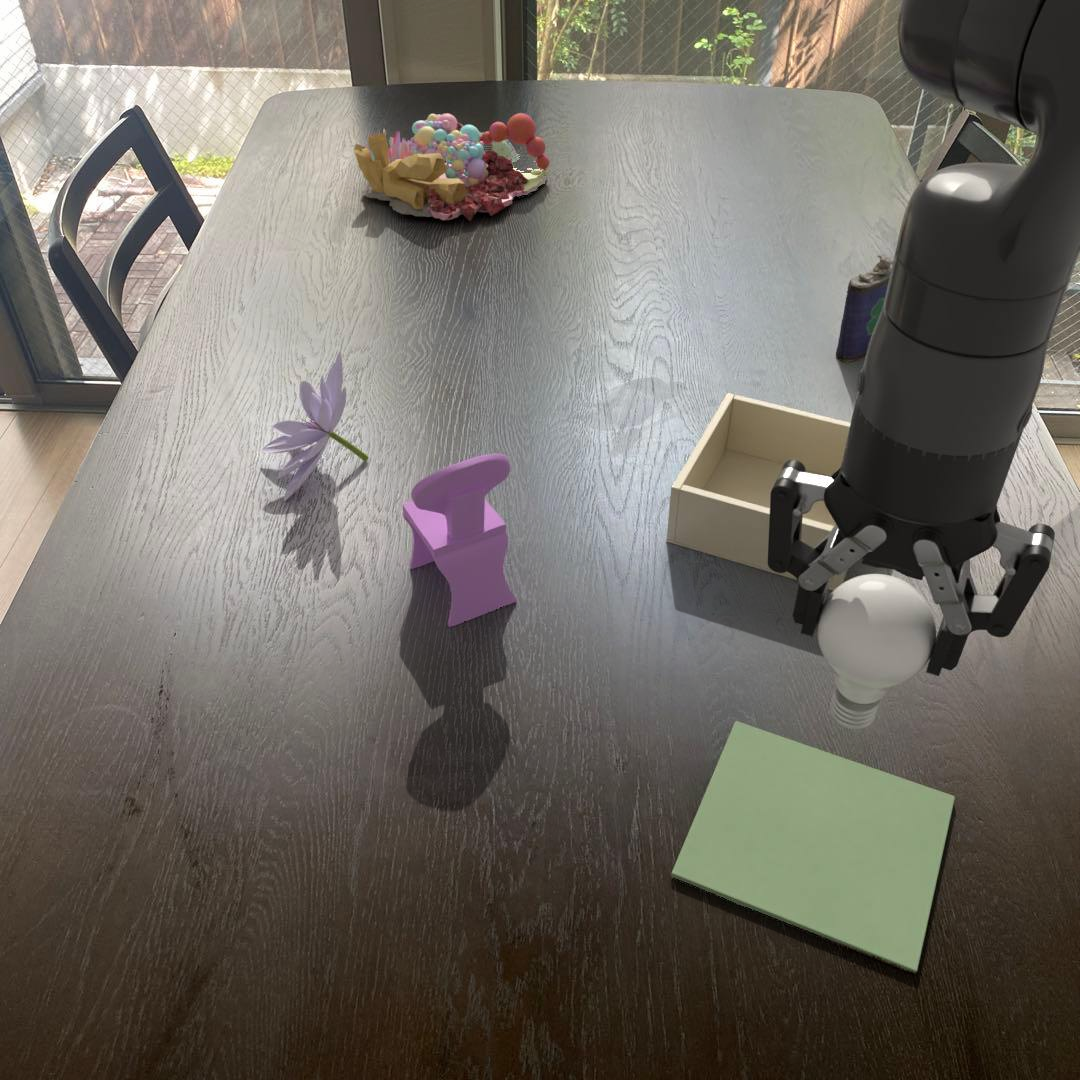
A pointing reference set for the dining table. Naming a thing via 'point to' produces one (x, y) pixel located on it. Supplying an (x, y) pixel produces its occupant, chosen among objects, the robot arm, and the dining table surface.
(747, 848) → the mat
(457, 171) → the candy landscape model
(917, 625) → the lightbulb
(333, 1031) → the dining table surface
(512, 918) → the dining table surface
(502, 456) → the toy chair
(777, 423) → the open wooden box
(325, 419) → the water lily
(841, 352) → the flask
